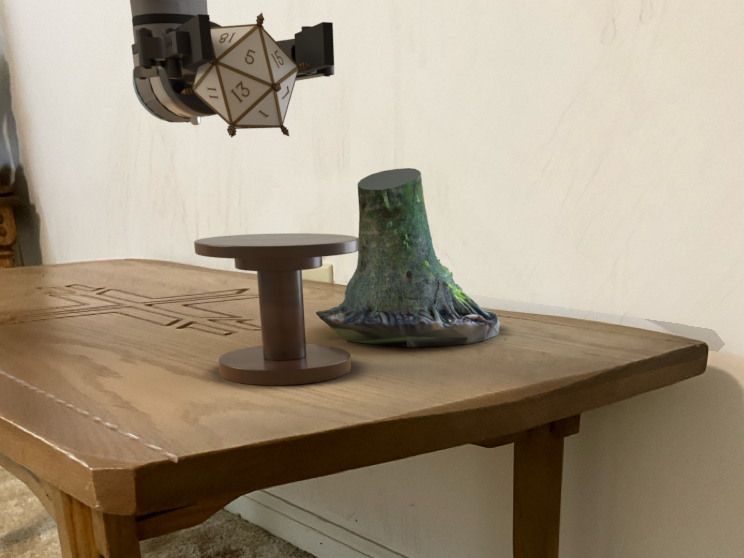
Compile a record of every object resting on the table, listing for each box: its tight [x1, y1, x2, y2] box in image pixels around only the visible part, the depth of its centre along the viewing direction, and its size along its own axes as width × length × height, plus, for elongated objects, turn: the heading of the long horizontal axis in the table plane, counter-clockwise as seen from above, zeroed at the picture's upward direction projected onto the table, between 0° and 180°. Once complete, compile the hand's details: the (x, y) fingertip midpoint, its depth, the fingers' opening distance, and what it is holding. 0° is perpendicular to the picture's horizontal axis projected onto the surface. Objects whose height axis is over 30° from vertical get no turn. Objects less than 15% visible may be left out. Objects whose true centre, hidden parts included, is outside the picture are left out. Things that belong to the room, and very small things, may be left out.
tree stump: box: [315, 167, 501, 348], centre depth 83 cm, size 18×20×18 cm
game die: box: [181, 12, 310, 139], centre depth 64 cm, size 9×8×10 cm
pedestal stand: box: [193, 232, 359, 386], centre depth 70 cm, size 13×13×10 cm
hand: (269, 40), depth 60 cm, fingers closed on game die, 8 cm apart
